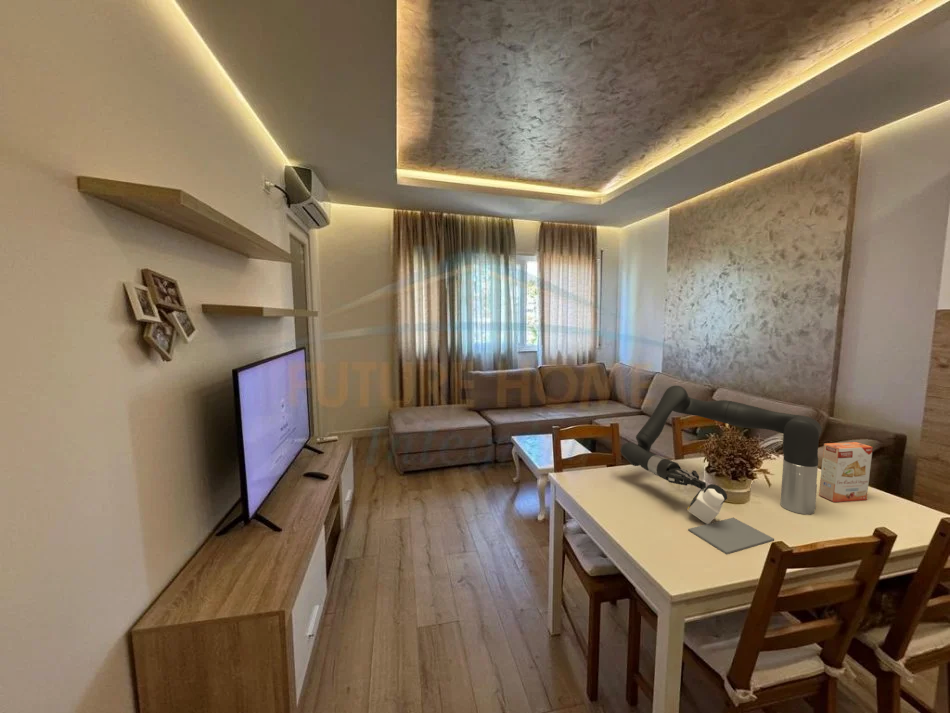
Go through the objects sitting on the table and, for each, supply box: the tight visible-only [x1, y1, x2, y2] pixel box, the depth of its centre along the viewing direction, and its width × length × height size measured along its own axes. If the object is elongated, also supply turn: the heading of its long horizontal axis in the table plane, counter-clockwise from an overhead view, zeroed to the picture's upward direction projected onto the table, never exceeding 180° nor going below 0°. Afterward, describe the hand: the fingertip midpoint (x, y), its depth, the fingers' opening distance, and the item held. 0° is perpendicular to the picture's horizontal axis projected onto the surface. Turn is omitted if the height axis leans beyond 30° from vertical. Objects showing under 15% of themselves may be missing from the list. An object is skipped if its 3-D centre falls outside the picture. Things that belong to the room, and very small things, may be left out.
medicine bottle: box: [686, 483, 728, 525], centre depth 124 cm, size 7×7×12 cm
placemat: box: [688, 517, 775, 555], centre depth 117 cm, size 20×13×1 cm, turn 108°
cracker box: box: [818, 441, 874, 503], centre depth 138 cm, size 14×6×21 cm, turn 95°
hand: (704, 486), depth 125 cm, fingers closed
